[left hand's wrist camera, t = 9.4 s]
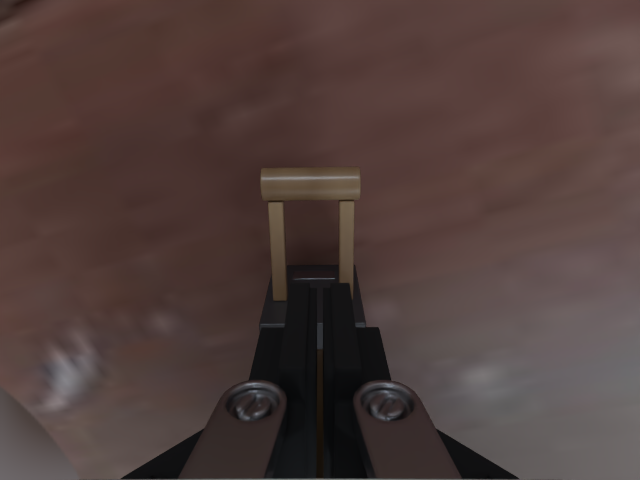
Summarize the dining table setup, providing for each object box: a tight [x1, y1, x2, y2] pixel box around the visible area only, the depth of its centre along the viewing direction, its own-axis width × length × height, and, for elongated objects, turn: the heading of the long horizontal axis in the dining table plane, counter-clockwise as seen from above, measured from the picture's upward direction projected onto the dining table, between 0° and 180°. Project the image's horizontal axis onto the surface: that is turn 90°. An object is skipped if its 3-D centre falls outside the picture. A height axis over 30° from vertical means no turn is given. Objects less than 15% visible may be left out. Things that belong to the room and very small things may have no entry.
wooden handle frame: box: [259, 167, 366, 479], centre depth 21 cm, size 20×4×6 cm, turn 1°
